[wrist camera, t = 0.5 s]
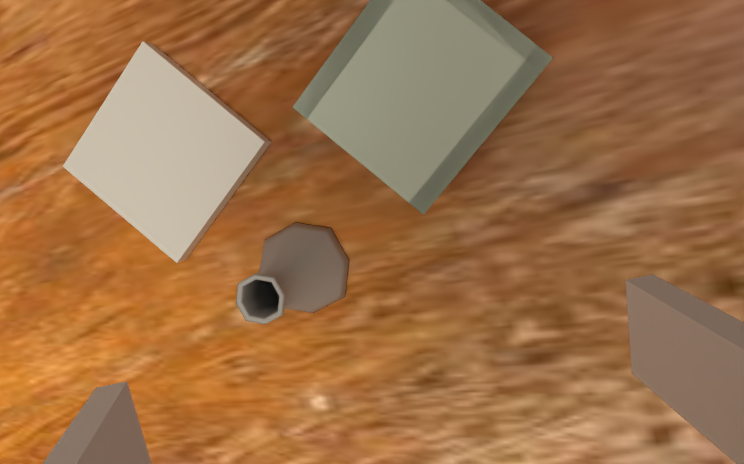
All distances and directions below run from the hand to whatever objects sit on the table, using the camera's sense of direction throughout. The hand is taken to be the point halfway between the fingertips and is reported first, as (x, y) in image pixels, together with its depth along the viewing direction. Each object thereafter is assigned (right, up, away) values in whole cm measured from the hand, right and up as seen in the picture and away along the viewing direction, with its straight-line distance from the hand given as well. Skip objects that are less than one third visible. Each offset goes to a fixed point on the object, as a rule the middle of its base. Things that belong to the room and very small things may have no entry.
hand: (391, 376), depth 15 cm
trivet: (-16, +10, +32) cm, 37 cm away
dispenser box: (+4, +13, +28) cm, 31 cm away
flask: (-6, +1, +31) cm, 32 cm away
